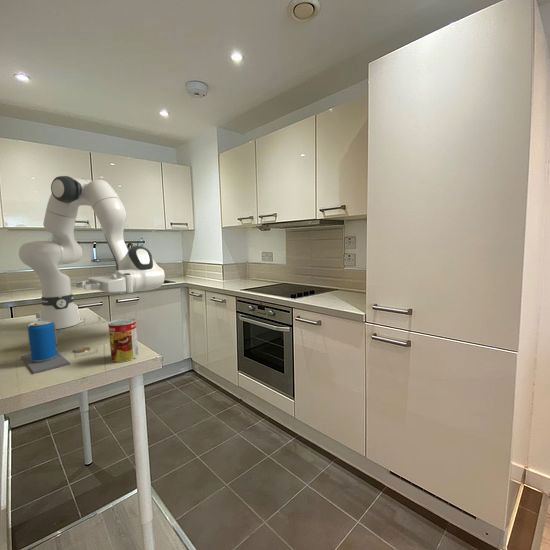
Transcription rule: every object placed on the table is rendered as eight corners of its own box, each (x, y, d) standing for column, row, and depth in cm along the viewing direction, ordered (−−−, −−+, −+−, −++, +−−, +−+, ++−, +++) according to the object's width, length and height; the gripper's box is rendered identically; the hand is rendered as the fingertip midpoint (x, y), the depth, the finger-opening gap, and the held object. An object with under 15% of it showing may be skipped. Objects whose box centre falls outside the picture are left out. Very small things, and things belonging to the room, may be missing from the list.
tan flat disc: (70, 350, 109) (70, 350, 109) (87, 346, 113) (87, 346, 113) (75, 353, 105) (75, 353, 105) (92, 349, 109) (92, 349, 109)
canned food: (113, 355, 103) (110, 320, 102) (139, 352, 106) (136, 317, 104) (109, 364, 96) (106, 326, 94) (137, 360, 98) (134, 323, 97)
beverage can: (40, 355, 102) (36, 320, 101) (61, 355, 103) (57, 319, 102) (26, 363, 96) (22, 325, 95) (48, 362, 96) (44, 325, 95)
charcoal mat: (21, 357, 103) (21, 355, 103) (53, 350, 110) (53, 348, 110) (33, 373, 90) (33, 371, 90) (69, 364, 96) (69, 362, 96)
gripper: (111, 271, 123) (70, 274, 113) (133, 275, 109) (89, 279, 99) (112, 287, 123) (72, 292, 113) (134, 293, 110) (90, 298, 100)
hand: (80, 286), depth 106 cm, fingers open, 8 cm apart
